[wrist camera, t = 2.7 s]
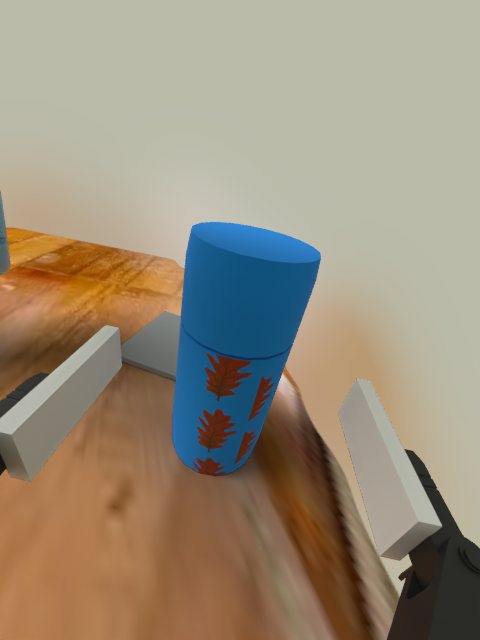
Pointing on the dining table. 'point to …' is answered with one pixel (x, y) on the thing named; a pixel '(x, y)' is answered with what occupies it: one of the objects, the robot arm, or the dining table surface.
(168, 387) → the dining table surface
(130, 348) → the slate tile
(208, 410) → the thermos
